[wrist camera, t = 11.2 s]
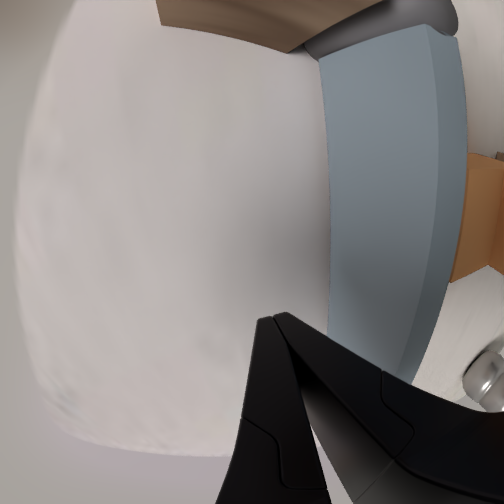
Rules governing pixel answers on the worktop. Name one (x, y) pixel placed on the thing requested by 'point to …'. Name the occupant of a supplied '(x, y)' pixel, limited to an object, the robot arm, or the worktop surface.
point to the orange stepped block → (481, 218)
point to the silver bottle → (486, 381)
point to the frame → (262, 19)
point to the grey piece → (392, 174)
